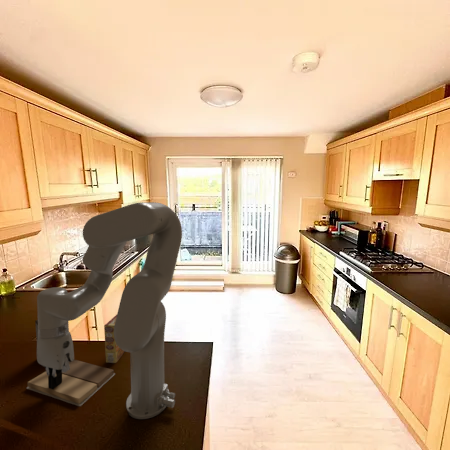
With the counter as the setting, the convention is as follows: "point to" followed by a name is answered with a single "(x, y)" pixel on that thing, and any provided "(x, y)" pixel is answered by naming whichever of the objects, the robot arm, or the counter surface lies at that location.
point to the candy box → (111, 343)
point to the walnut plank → (89, 372)
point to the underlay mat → (68, 400)
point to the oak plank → (64, 387)
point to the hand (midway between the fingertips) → (55, 385)
